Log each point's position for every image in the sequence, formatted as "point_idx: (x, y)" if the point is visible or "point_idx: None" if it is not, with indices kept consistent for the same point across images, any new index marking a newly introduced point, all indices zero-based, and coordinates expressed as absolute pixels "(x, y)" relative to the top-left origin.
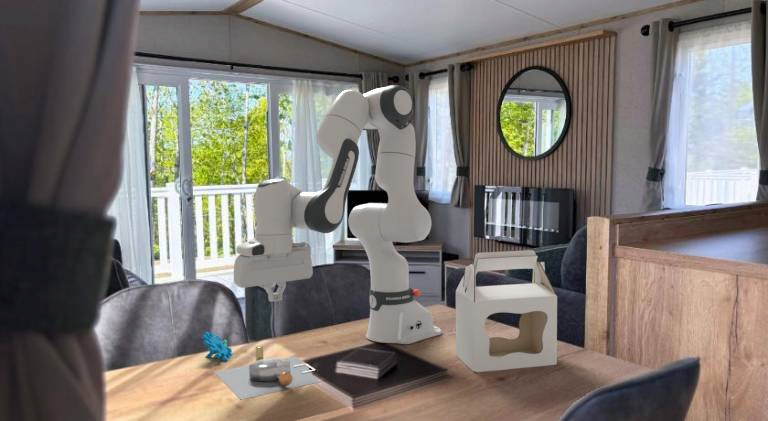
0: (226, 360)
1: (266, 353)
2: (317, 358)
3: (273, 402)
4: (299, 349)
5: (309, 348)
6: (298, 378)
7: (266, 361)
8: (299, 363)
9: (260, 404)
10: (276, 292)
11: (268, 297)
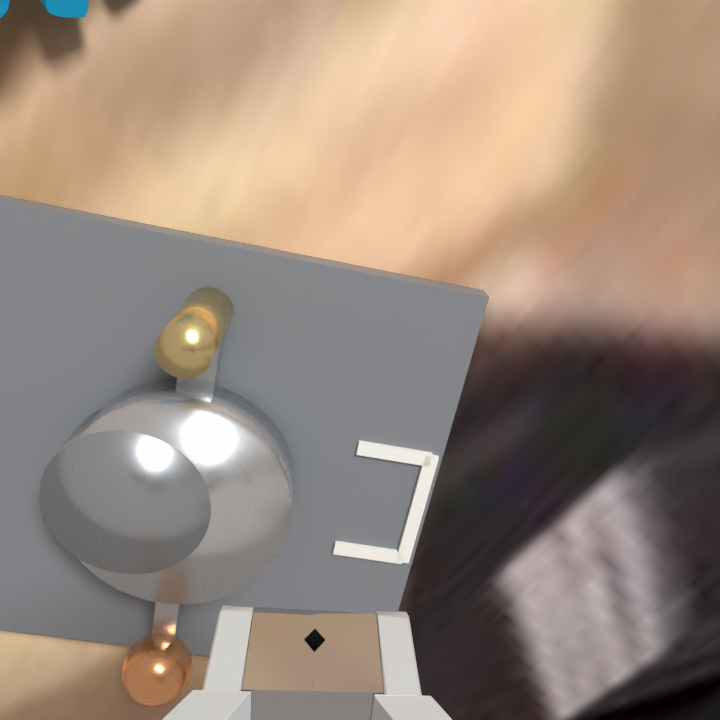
0: (73, 13)
1: (437, 3)
2: (589, 355)
3: (78, 665)
4: (653, 112)
5: (711, 148)
6: (277, 586)
7: (171, 467)
8: (418, 420)
9: (23, 651)
10: (373, 694)
11: (213, 640)
